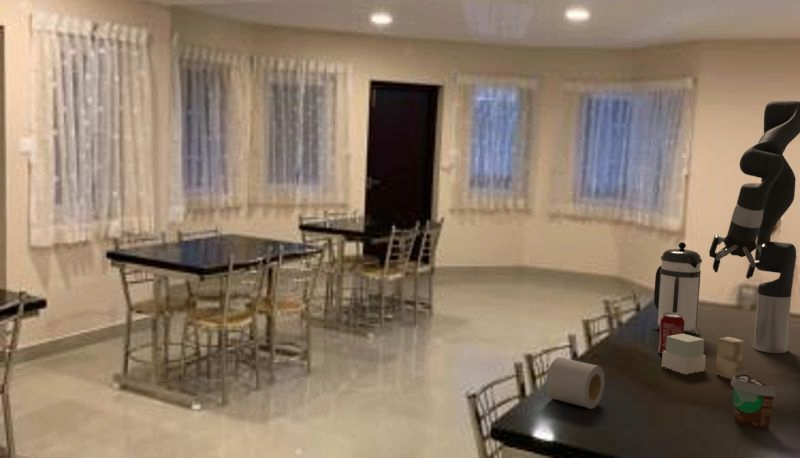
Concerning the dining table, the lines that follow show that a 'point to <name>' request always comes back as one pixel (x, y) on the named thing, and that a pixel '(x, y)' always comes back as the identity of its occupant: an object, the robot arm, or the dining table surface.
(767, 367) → the dining table surface
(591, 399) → the toilet paper
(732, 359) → the beech pillar
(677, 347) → the tower top
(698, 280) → the coffee press
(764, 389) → the food container
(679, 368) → the tower base
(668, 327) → the soda can
